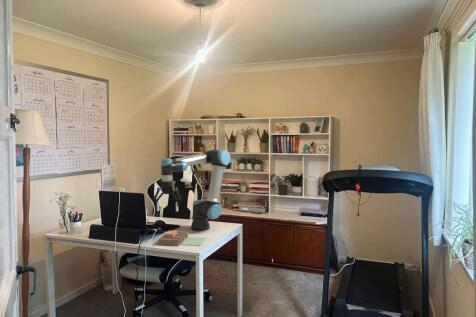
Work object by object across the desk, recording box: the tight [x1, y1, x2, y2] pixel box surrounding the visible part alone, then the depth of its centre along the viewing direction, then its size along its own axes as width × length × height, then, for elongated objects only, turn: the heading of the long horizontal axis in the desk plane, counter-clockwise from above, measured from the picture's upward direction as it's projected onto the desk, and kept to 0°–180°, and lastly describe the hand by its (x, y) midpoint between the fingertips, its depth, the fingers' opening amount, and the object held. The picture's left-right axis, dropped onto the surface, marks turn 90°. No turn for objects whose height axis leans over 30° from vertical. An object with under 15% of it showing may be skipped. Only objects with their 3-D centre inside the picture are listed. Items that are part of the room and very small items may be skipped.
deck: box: [158, 230, 189, 247], centre depth 246 cm, size 22×14×4 cm, turn 171°
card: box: [164, 230, 178, 237], centre depth 247 cm, size 9×6×2 cm, turn 171°
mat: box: [180, 236, 208, 247], centre depth 244 cm, size 18×14×1 cm
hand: (167, 211), depth 243 cm, fingers open, 13 cm apart
